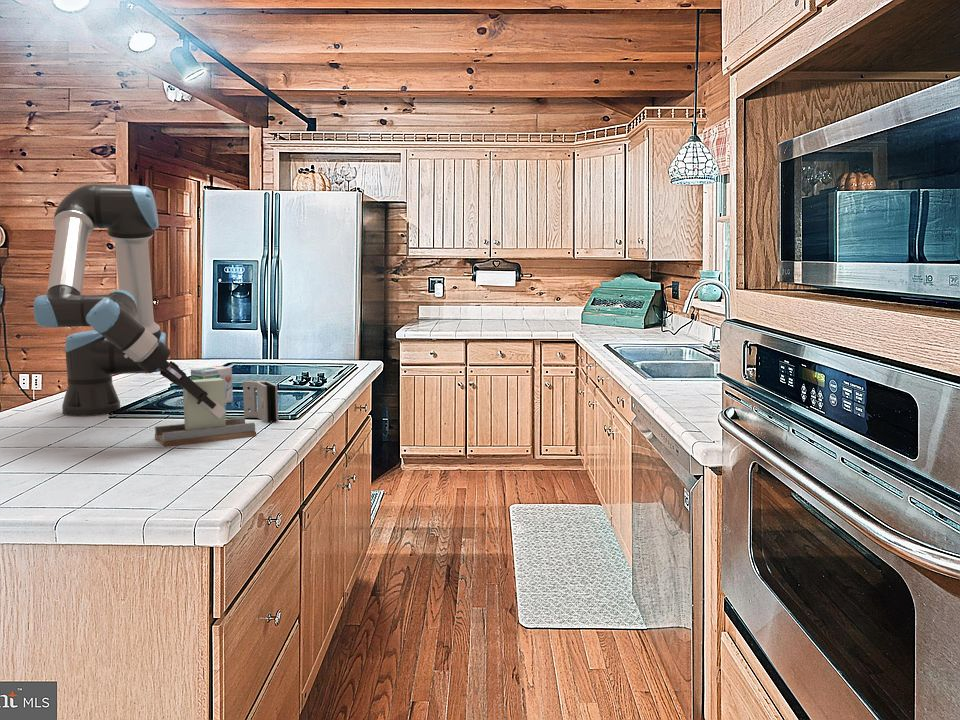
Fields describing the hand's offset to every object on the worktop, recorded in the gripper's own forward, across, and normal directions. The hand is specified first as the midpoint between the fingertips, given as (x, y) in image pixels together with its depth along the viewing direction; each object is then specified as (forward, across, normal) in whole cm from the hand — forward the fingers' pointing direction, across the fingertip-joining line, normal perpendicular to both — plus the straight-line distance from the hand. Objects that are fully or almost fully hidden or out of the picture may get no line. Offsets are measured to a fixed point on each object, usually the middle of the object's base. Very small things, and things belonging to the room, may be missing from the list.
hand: (220, 412), depth 210 cm
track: (+1, 0, -7) cm, 7 cm away
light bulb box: (+11, -46, +3) cm, 47 cm away
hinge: (+15, -15, +7) cm, 22 cm away
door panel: (0, 0, -5) cm, 5 cm away
